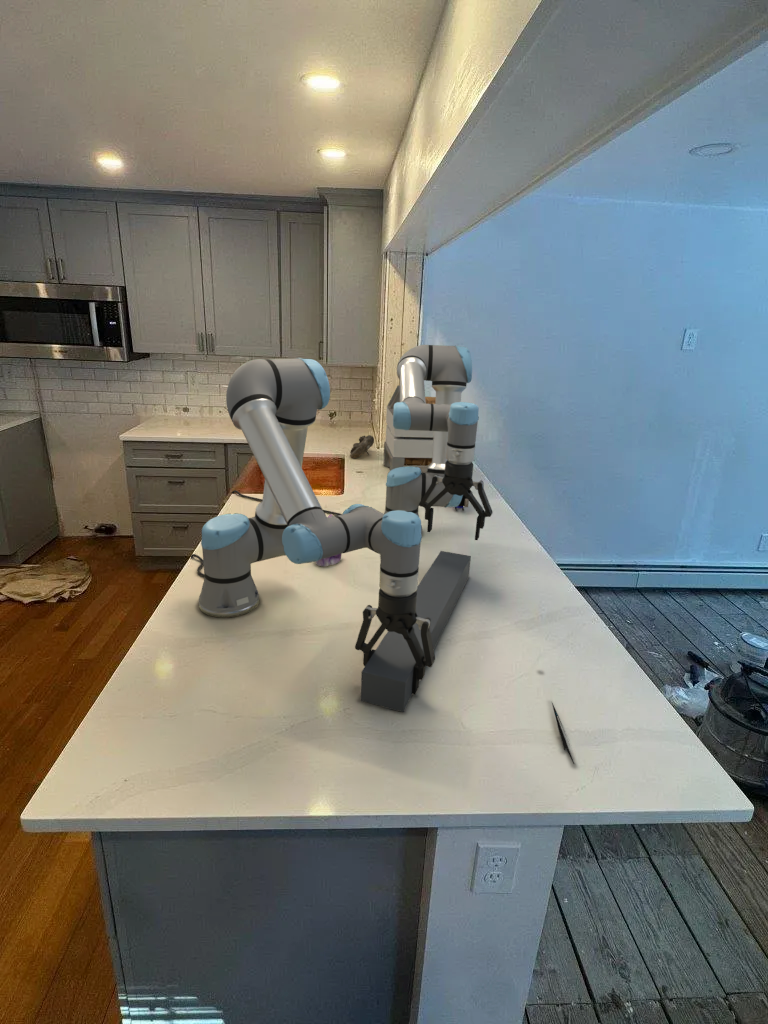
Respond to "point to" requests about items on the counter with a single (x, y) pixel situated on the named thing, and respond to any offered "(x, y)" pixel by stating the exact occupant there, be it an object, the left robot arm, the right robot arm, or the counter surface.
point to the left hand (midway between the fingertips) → (392, 684)
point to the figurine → (329, 558)
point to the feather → (562, 734)
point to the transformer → (406, 441)
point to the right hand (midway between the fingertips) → (452, 534)
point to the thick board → (393, 659)
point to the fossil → (362, 446)
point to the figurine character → (463, 503)
